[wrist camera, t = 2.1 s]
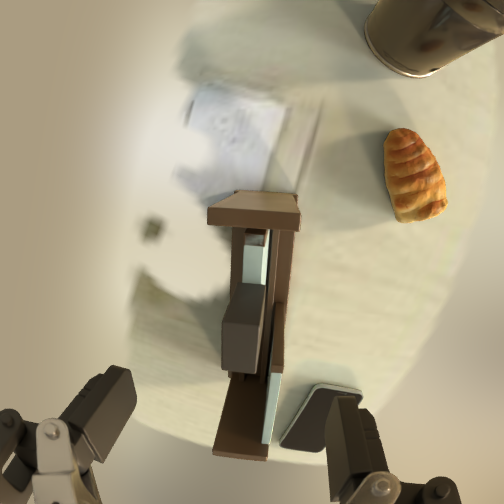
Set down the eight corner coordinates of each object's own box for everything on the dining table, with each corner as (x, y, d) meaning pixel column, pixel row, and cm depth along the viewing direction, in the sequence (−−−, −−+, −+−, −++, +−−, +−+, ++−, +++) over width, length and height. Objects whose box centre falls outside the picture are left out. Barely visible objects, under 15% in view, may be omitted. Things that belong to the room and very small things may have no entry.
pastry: (364, 139, 25) (376, 135, 22) (416, 122, 24) (433, 117, 21) (394, 225, 27) (409, 233, 24) (443, 204, 26) (461, 209, 23)
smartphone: (276, 447, 37) (316, 385, 33) (277, 442, 38) (315, 380, 33) (320, 453, 37) (366, 394, 32) (319, 449, 38) (365, 390, 33)
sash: (274, 211, 26) (265, 260, 12) (267, 302, 29) (252, 412, 15) (254, 209, 27) (222, 257, 12) (249, 300, 29) (221, 409, 15)
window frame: (297, 194, 28) (311, 214, 15) (277, 375, 34) (272, 462, 21) (236, 189, 28) (198, 206, 15) (229, 370, 34) (207, 454, 21)
